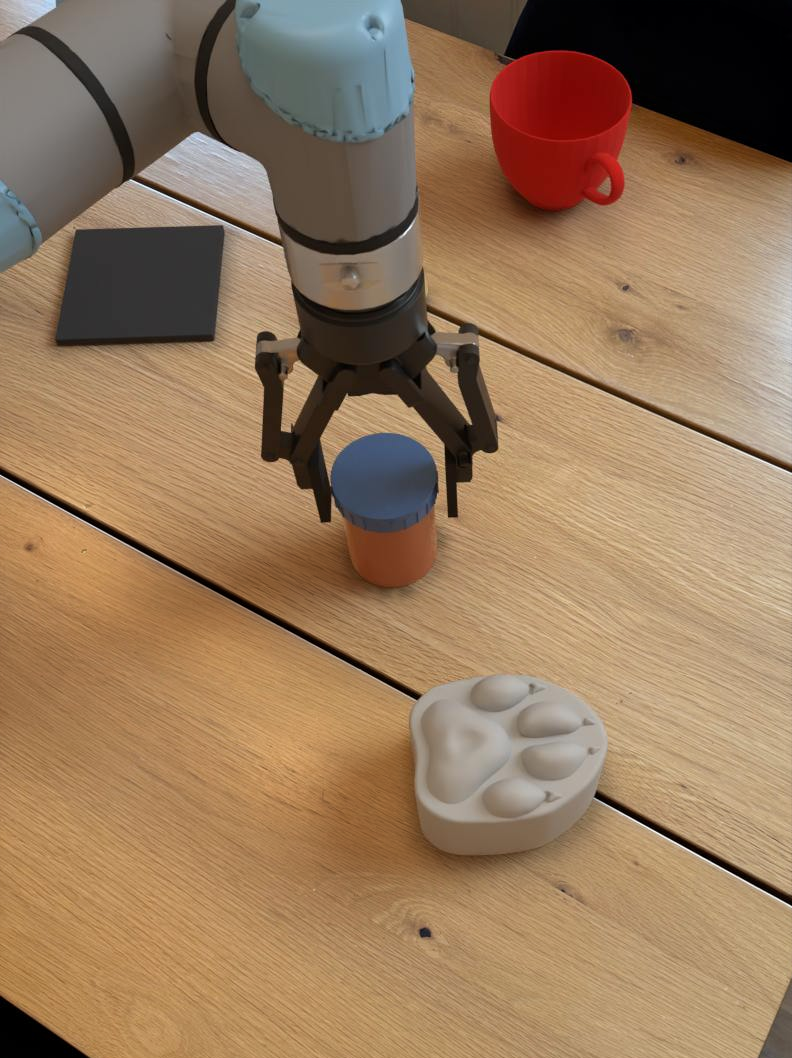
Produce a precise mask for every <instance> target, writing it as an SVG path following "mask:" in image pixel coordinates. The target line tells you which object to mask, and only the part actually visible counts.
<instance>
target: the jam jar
mask: <svg viewBox="0 0 792 1058" xmlns="http://www.w3.org/2000/svg"><path fill="white" fill-rule="evenodd" d="M435 505H436V504H434V505H433V507H432V509H431V510H430V512H429V514H427V515H426V516H425V517H424V518H423V519H422V520H421V521H419V523H416V524H415V525H413V526H411V527H409V528H407V529H404V530H401V531H397V532H394V533H392V532H390V533H376V532H371V531H367V530H366V531H364V529H361V528H359V527H356V526H355V525H352V523H350V522H349V521H347V520H346V519H345V518H344V517H342V516H341V518H342V522H343V528H344V532H345V537H346V542H347V547H348V552H349V557H350V562H351V564H352V566H353V568H354V569H355V571H356V572H357V573H358V575H359V576H361V578H363V579H364V580H365V581H367V582H368V583H371V584H373V585H376V586H379V587H383V588H400V587H405V586H408V585H411V584H413V583H416V582H418V581H420V580H421V579H422V578H423V577H424V576H426V575H427V574H428V572H430V570H431V569H432V568H433V566H434V564H435V562H436V559H437V555H438V539H437V524H436V507H435Z"/></svg>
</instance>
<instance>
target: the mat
mask: <svg viewBox="0 0 792 1058" xmlns="http://www.w3.org/2000/svg"><path fill="white" fill-rule="evenodd" d="M224 227H225V226H224V225H223V224H214V225H211V224H210V225H184V226H183V225H181V226H179V225H177V226H176V225H175V226H151V227H150V226H147V227H116V228H114V227H112V228H84V229H83V228H82V229H80V228H79V229H75V232H74V236H73V242H72V248H71V253H70V258H69V262H68V269H67V274H66V279H65V285H64V290H63V294H62V295H63V296H62V300H61V306H60V309H59V310H60V311H59V316H58V322H57V325H56V332H55V336H54V341H55V343H56V345H57V346H58V347H59V346H86V345H87V346H88V345H117V344H147V343H148V344H150V343H151V344H152V343H177V342H178V343H180V342H209V341H210V342H211V341H212V342H213V341H214V340H215V335H216V322H217V314H218V303H219V295H220V294H219V292H220V283H221V275H222V274H221V273H222V263H223V251H224V242H225V241H224V240H225V232H226V231H225V228H224Z"/></svg>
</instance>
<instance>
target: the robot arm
mask: <svg viewBox="0 0 792 1058" xmlns="http://www.w3.org/2000/svg"><path fill="white" fill-rule="evenodd" d="M415 77H416V76H415V69H414V66H413V63H412V59H411V56H410V48H409V42H408V35H407V28H406V21H405V14H404V8H403V3H402V1H401V0H55V7H54V8H52V9H51V10H49V11H48V12H46V13H44V14H43V15H41V16H40V17H38V18H37V19H35V20H34V21H32V22H31V23H29V24H28V25H26V26H24V27H21V28H20V29H18V30H17V31H15V32H14V33H13V32H12V34H10V35H9V36H7V37H6V38H5V39H3V40H1V41H0V275H1V274H3V273H4V272H6V271H9V269H11V268H13V267H15V266H16V265H18V264H20V263H21V262H23V261H26V260H28V259H29V258H33V256H35V255H36V254H37V253H38V251H39V249H40V247H41V245H43V244H44V243H45V242H47V241H48V240H49V239H50V238H52V237H53V236H54V235H56V234H57V233H58V232H60V231H61V230H62V229H63V228H65V227H66V226H67V225H69V224H70V223H71V222H73V221H74V220H75V219H77V218H78V217H79V216H81V215H82V214H83V213H84V212H87V211H88V210H89V209H90V208H91V207H92V206H94V205H95V204H96V203H98V202H99V201H100V200H102V199H103V198H105V197H106V196H107V195H108V194H110V193H111V192H112V191H113V190H115V189H118V188H120V187H121V186H122V185H124V183H126V182H129V181H130V180H132V179H133V178H134V177H136V176H138V175H139V174H141V172H143V171H144V170H146V169H147V168H148V167H150V166H151V165H153V164H154V163H155V162H156V161H158V160H159V159H161V158H162V157H164V156H165V155H166V154H167V153H169V152H170V151H171V150H173V149H174V148H175V147H177V146H178V145H180V144H181V143H182V142H184V141H185V140H186V139H187V138H188V137H190V136H191V135H193V134H195V133H199V134H202V135H203V136H204V135H205V136H206V137H208V138H210V139H212V140H214V141H216V142H218V143H220V144H222V145H224V146H226V147H228V148H229V149H231V150H233V151H236V152H238V153H241V154H242V153H243V154H244V155H246V156H248V157H249V158H252V159H253V160H255V161H256V162H258V163H259V164H260V165H261V166H262V167H263V169H264V170H265V172H266V176H267V180H268V183H269V187H270V191H271V195H272V203H273V209H274V213H275V216H276V219H277V220H276V221H277V225H278V230H279V234H280V239H281V245H282V249H283V254H284V259H285V263H286V268H287V272H288V275H289V277H290V286H291V287H290V288H291V291H292V297H293V301H294V305H295V306H294V307H295V311H296V315H297V320H298V324H299V330H298V333H297V336H296V337H292V338H291V337H290V338H285V339H278V337H277V335H276V334H275V333H273V332H272V331H268V330H263V331H260V332H259V333H257V335H256V344H255V357H254V371H255V372H256V374H257V376H258V378H259V380H260V382H261V385H262V386H263V400H262V401H263V403H262V425H261V445H260V447H261V449H260V452H261V453H260V458H261V459H262V460H263V461H264V462H266V463H276V462H277V461H279V459H281V460H284V461H285V460H286V461H288V462H289V464H290V465H291V467H292V470H293V474H294V479H295V482H296V486H297V487H298V488H299V489H300V490H312V492H313V497H314V501H315V504H316V508H317V513H318V516H319V521H320V524H326V523H327V524H329V523H332V499H333V497H332V492H331V488H330V486H331V481H330V479H329V478H330V477H329V474H328V469H327V464H326V460H325V455H324V450H323V446H322V442H321V438H322V436H323V434H324V432H325V430H326V428H327V427H328V424H329V422H330V421H331V419H332V417H333V415H334V414H335V411H337V412H338V411H339V409H340V408H341V406H342V404H343V402H344V400H345V398H346V397H349V398H350V397H362V396H366V395H371V394H372V395H373V394H374V395H381V396H397V397H398V398H399V399H400V400H401V401H402V402H403V404H404V405H405V406H406V407H407V408H408V409H411V408H412V409H413V410H414V411H415V412H416V413H417V414H418V415H419V417H420V418H421V419H422V420H423V421H424V422H425V424H427V426H428V427H429V428H430V429H431V431H432V432H433V433H434V434H435V435H436V436H437V438H438V439H439V440H440V441H441V442H442V443H443V448H444V449H443V450H444V451H443V452H444V473H445V491H446V507H447V509H446V510H447V518H448V519H452V518H454V519H455V518H459V510H458V509H459V508H458V507H459V506H458V505H459V504H458V484H459V483H461V484H462V483H464V484H465V483H471V482H472V481H473V478H474V477H473V474H474V473H473V471H474V470H473V465H474V461H473V459H474V458H473V456H474V455H475V454H476V453H477V452H480V451H481V452H483V453H484V454H494V453H496V452H497V451H498V450H499V433H498V431H499V430H498V419H497V415H496V412H495V410H494V405H493V403H492V400H491V397H490V394H489V391H488V388H487V384H486V381H485V378H484V375H483V371H482V368H481V365H480V361H481V358H480V339H479V328H478V326H477V325H476V324H474V323H471V322H468V323H467V322H466V323H464V324H462V325H460V327H459V328H458V332H443V331H442V332H441V331H436V328H435V326H434V325H433V324H432V323H431V322H430V320H429V318H428V310H427V308H428V307H427V297H426V292H425V278H426V276H425V277H424V274H425V269H424V245H423V230H422V229H423V228H422V217H421V216H422V215H421V214H422V213H421V199H420V196H419V186H418V182H417V163H416V145H415V144H416V141H415V140H416V139H415V104H414V103H415V102H414V101H415V100H414V99H415V98H414V96H415V92H416V84H415ZM436 356H440V357H442V358H443V360H444V364H445V365H446V366H447V367H448V368H449V371H450V372H451V373H452V374H457V375H456V376H457V385H458V388H459V391H460V394H461V396H462V397H461V398H462V399H463V403H464V405H465V408H466V411H467V414H468V417H469V419H470V422H471V423H469V421H468V420H467V419H466V418H465V416H464V415H463V414H462V413H461V411H460V410H459V409H458V408H457V406H456V405H455V403H453V401H452V400H451V399H450V398H449V396H448V395H447V394H446V393H445V391H444V390H443V389H442V387H441V386H440V384H439V383H438V382H437V381H436V380H435V379H434V377H433V376H432V374H431V373H430V372H429V371H428V368H427V366H428V365H429V364H430V363H431V362H432V361H433V360H434V358H435V357H436ZM298 361H299V362H300V363H302V365H304V366H305V367H306V368H308V369H309V370H310V371H312V372H313V373H314V374H316V376H317V378H316V380H315V382H314V384H313V385H312V388H311V390H310V392H309V394H308V396H307V398H306V400H305V402H304V404H303V406H302V407H301V410H300V412H299V414H298V417H297V419H296V420H295V423H290V431H284V430H282V422H283V409H284V408H283V407H284V393H285V392H284V390H285V381H286V380H287V379H289V378H288V377H289V375H290V374H291V373H292V372H293V371H294V364H296V363H297V362H298Z"/></svg>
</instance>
